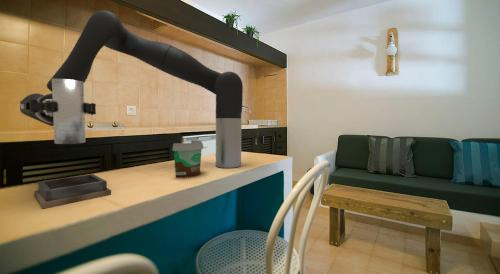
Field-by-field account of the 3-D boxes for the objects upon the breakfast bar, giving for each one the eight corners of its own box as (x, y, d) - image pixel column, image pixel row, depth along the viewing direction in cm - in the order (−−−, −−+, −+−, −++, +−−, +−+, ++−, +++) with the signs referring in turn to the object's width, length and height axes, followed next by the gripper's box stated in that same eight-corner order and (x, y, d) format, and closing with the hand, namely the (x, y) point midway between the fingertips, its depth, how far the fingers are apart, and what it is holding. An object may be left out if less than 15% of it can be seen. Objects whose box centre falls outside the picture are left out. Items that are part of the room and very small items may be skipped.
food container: (193, 180, 63) (192, 144, 62) (172, 178, 64) (172, 143, 64) (209, 170, 75) (209, 140, 74) (192, 169, 76) (192, 139, 76)
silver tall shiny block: (69, 140, 52) (67, 82, 51) (91, 141, 51) (89, 82, 50) (47, 143, 47) (44, 78, 46) (71, 144, 46) (68, 78, 45)
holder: (95, 184, 58) (94, 173, 57) (111, 194, 50) (110, 180, 50) (34, 195, 49) (33, 181, 49) (42, 208, 42) (41, 192, 42)
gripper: (13, 91, 53) (21, 84, 42) (87, 96, 64) (109, 92, 52) (15, 123, 53) (23, 125, 42) (88, 123, 64) (110, 125, 53)
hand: (71, 107), depth 47 cm, fingers closed on silver tall shiny block, 5 cm apart
